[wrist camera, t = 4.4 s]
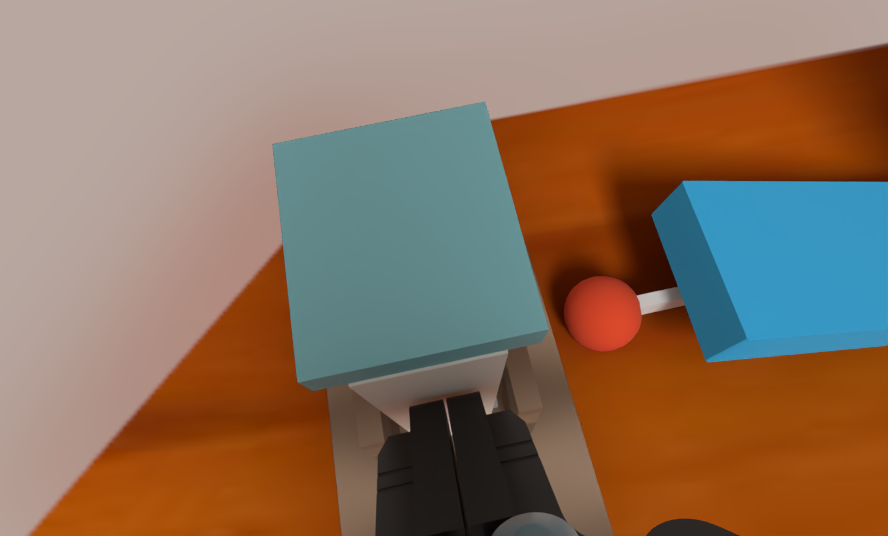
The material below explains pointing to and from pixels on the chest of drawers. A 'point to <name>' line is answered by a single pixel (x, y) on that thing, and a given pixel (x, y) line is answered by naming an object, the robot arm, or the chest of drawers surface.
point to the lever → (757, 271)
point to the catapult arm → (405, 260)
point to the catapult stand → (521, 390)
